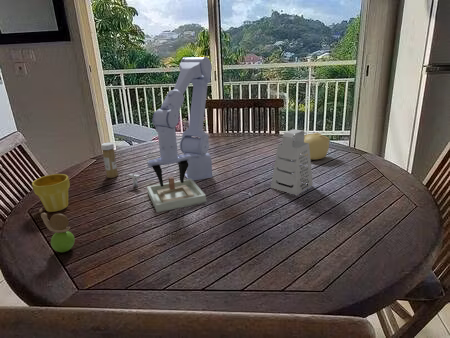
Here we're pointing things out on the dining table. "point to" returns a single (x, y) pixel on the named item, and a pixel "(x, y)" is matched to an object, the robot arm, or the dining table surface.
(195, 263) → the dining table surface
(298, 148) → the grater
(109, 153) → the sprinkles bottle
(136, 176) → the T-head stake
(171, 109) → the robot arm
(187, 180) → the sage tray
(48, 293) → the dining table surface
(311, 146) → the yellow round pot
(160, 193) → the birch frame
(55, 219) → the snail figurine
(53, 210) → the plant pot
